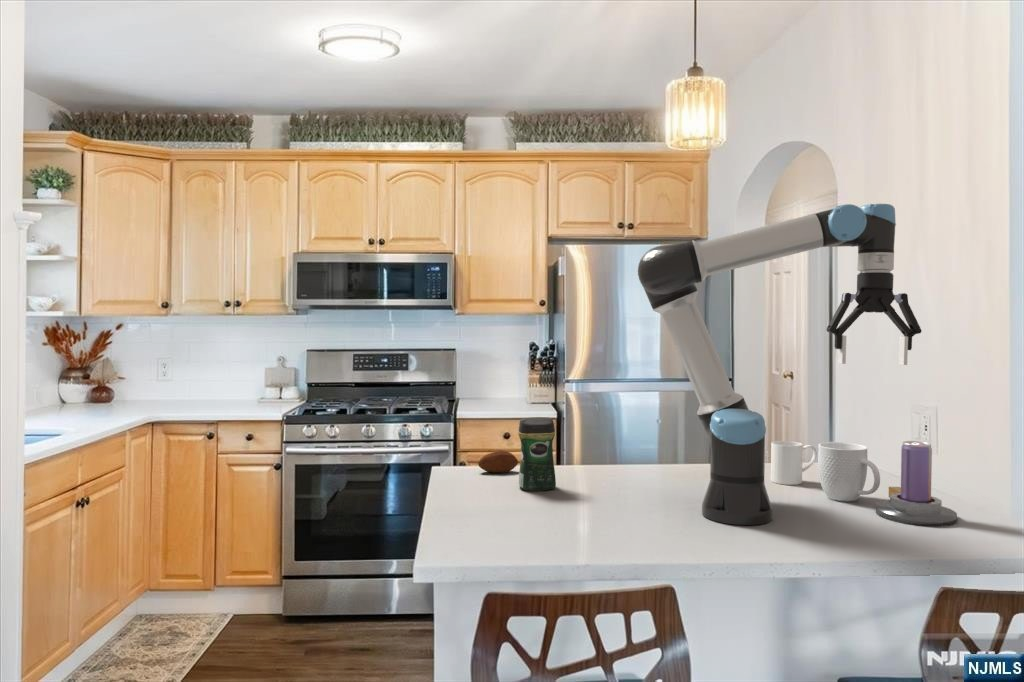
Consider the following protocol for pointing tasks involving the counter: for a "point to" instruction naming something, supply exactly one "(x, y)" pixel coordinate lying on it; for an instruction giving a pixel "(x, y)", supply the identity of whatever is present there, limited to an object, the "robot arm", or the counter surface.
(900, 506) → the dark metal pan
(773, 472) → the mug
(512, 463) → the potato
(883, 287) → the robot arm
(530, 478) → the coffee jar
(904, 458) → the beverage can
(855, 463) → the mug
